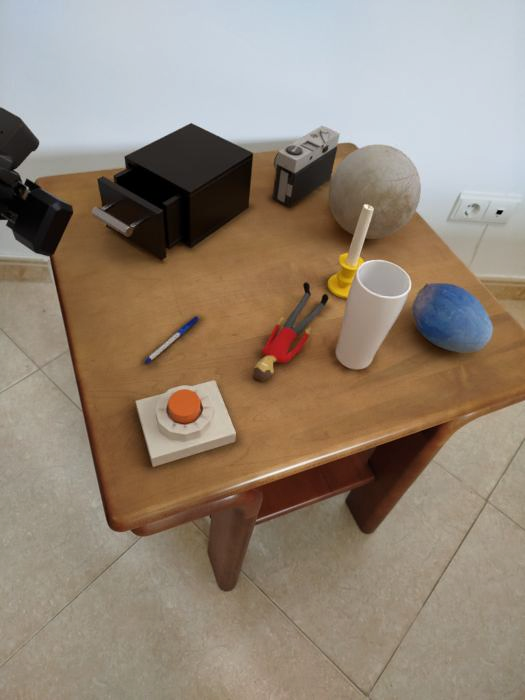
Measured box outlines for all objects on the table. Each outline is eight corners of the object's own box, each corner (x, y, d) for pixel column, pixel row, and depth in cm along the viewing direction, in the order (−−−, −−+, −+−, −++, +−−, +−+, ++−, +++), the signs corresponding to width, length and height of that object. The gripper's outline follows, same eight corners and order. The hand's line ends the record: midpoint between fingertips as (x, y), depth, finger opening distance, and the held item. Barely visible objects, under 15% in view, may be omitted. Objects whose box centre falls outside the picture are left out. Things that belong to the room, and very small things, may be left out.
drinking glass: (385, 368, 68) (423, 291, 56) (343, 381, 66) (373, 303, 54) (362, 333, 71) (393, 254, 60) (321, 344, 69) (345, 264, 58)
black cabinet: (191, 248, 80) (189, 191, 71) (131, 213, 84) (124, 156, 76) (248, 207, 88) (253, 152, 80) (192, 177, 92) (191, 122, 84)
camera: (298, 163, 99) (306, 114, 91) (331, 180, 96) (343, 131, 89) (255, 190, 92) (260, 139, 84) (290, 209, 89) (298, 158, 81)
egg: (424, 246, 69) (515, 309, 64) (418, 275, 77) (499, 334, 71) (382, 287, 68) (471, 355, 63) (380, 313, 76) (459, 375, 71)
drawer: (142, 274, 74) (136, 226, 67) (86, 238, 77) (75, 189, 71) (220, 219, 84) (222, 173, 77) (167, 190, 88) (164, 144, 81)
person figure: (332, 286, 71) (271, 368, 60) (334, 307, 73) (276, 389, 63) (301, 281, 73) (237, 358, 63) (304, 301, 76) (243, 379, 65)
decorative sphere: (392, 206, 93) (419, 129, 81) (413, 258, 84) (447, 180, 72) (315, 202, 91) (332, 124, 79) (328, 255, 82) (348, 175, 70)
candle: (341, 271, 80) (366, 187, 68) (366, 288, 78) (396, 205, 65) (320, 285, 77) (342, 200, 65) (345, 303, 75) (373, 220, 63)
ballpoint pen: (194, 317, 70) (194, 312, 69) (199, 320, 70) (199, 315, 69) (144, 363, 64) (143, 358, 63) (149, 366, 64) (148, 362, 63)
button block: (152, 467, 55) (149, 451, 52) (137, 410, 60) (133, 392, 57) (235, 442, 58) (237, 425, 55) (214, 389, 63) (215, 371, 60)
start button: (173, 427, 55) (172, 419, 53) (165, 401, 57) (164, 393, 55) (204, 418, 56) (204, 410, 54) (195, 394, 58) (195, 385, 56)
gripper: (33, 130, 44) (136, 188, 58) (-86, 63, 50) (35, 130, 64) (-15, 241, 46) (96, 270, 60) (-125, 163, 51) (1, 207, 66)
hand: (56, 216), depth 63 cm, fingers closed
